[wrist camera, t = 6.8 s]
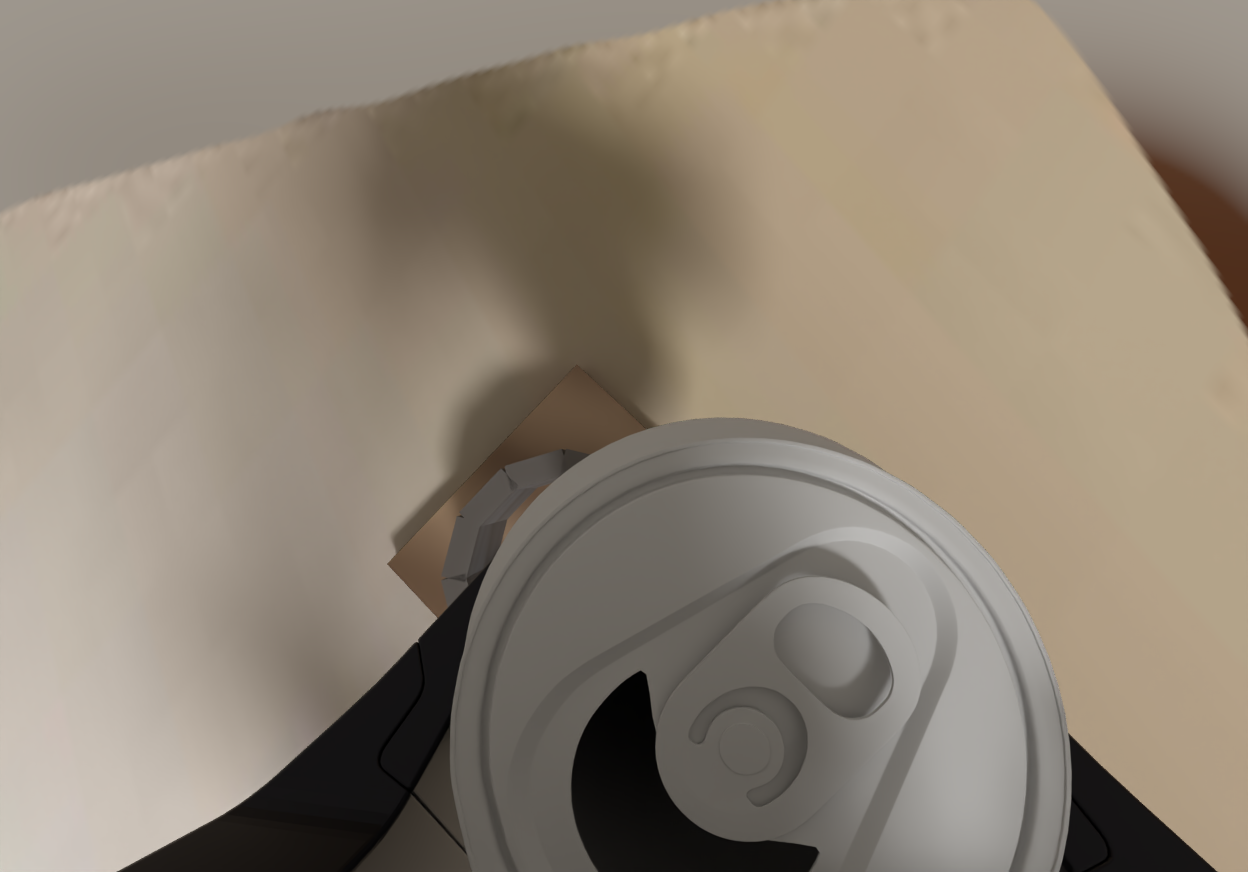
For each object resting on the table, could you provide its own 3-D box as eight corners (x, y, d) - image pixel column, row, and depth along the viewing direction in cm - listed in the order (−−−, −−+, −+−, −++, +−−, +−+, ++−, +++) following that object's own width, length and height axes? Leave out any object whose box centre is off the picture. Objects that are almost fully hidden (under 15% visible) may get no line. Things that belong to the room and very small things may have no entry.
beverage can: (541, 556, 16) (259, 752, 4) (670, 422, 17) (733, 264, 5) (676, 694, 16) (779, 1360, 4) (808, 552, 16) (1293, 753, 4)
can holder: (587, 760, 22) (569, 832, 17) (398, 560, 23) (337, 579, 19) (779, 554, 22) (809, 573, 18) (580, 369, 24) (562, 343, 19)
